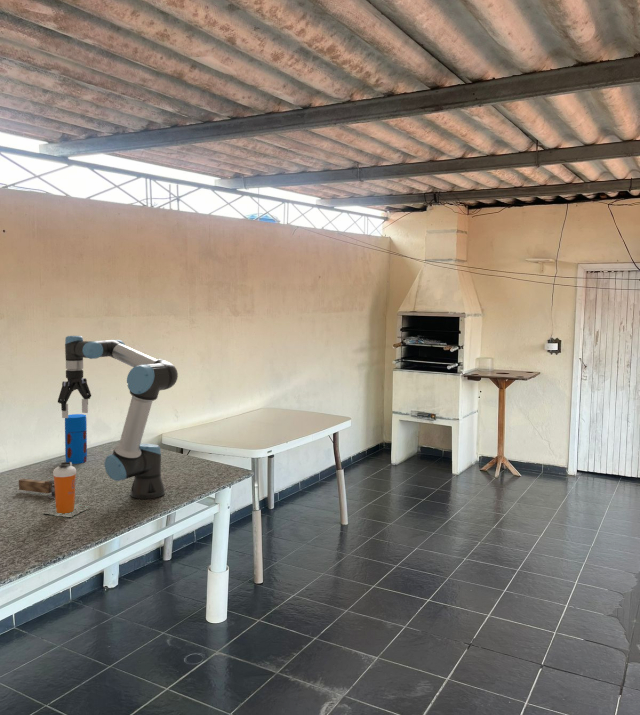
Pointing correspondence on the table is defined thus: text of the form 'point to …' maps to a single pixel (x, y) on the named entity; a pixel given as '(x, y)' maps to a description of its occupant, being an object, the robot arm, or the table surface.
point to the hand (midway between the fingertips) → (75, 415)
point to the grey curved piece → (52, 492)
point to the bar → (36, 485)
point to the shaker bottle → (64, 487)
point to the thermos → (76, 438)
